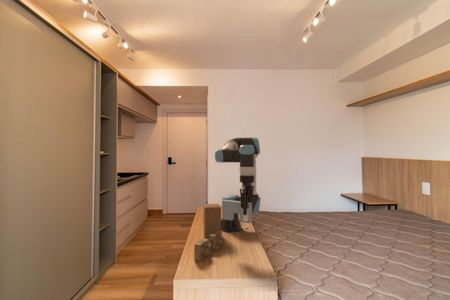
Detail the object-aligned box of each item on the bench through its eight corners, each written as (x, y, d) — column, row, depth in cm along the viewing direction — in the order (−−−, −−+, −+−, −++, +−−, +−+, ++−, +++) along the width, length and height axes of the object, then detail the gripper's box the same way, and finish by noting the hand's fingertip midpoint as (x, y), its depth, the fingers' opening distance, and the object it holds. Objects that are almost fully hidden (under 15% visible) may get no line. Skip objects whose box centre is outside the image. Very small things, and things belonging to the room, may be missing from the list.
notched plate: (225, 217, 127) (224, 199, 127) (251, 221, 120) (251, 202, 120) (222, 219, 125) (222, 200, 125) (249, 223, 117) (249, 203, 117)
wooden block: (221, 240, 139) (221, 207, 140) (204, 241, 138) (204, 207, 138) (218, 234, 149) (218, 203, 149) (203, 235, 147) (203, 204, 148)
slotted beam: (217, 244, 132) (217, 230, 132) (221, 245, 131) (221, 231, 131) (194, 260, 113) (194, 244, 113) (199, 261, 112) (199, 245, 112)
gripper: (246, 173, 128) (246, 215, 128) (233, 175, 114) (233, 223, 114) (259, 173, 125) (259, 217, 124) (247, 176, 111) (247, 225, 110)
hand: (247, 219), depth 119 cm, fingers closed on notched plate, 3 cm apart
